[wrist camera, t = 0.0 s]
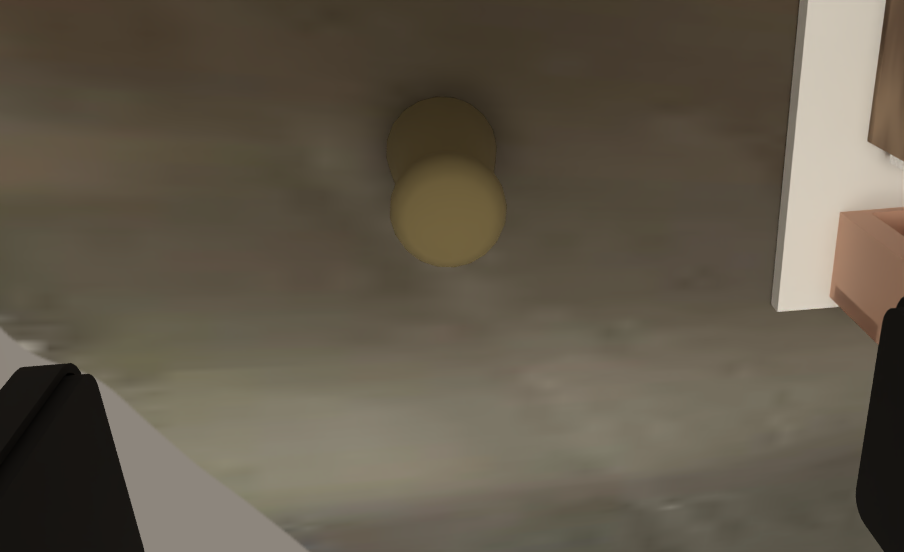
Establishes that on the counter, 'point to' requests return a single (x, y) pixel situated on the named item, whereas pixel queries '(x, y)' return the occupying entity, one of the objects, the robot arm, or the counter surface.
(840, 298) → the terracotta socket
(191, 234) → the counter surface
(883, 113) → the walnut sleeve
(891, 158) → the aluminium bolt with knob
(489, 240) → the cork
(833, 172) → the grey base board
